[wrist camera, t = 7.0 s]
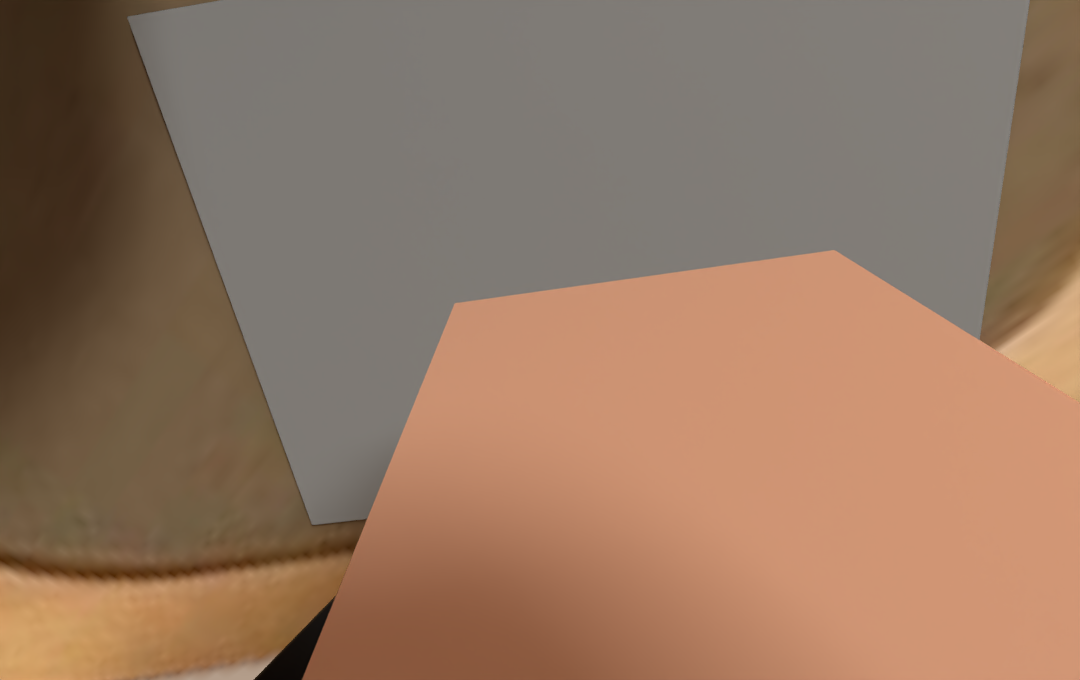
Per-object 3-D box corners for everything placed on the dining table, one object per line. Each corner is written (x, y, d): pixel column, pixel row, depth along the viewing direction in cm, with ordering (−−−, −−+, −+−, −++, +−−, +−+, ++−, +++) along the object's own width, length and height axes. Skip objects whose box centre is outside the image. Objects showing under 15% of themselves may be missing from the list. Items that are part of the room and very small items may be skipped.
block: (515, 583, 10) (479, 1171, 5) (454, 303, 8) (270, 756, 3) (822, 550, 10) (1165, 1147, 4) (834, 250, 8) (1471, 645, 2)
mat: (315, 519, 22) (312, 525, 22) (134, 17, 16) (126, 16, 15) (957, 448, 20) (962, 453, 20) (1041, -139, 14) (1051, -144, 14)
